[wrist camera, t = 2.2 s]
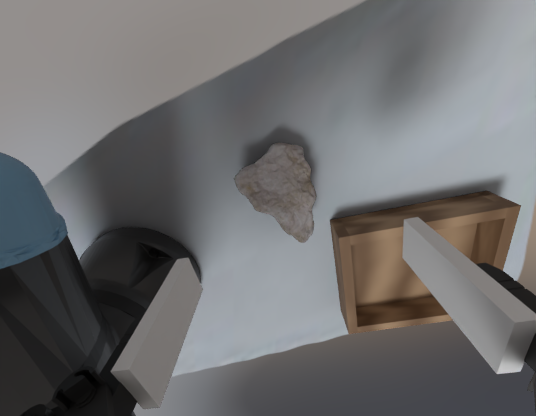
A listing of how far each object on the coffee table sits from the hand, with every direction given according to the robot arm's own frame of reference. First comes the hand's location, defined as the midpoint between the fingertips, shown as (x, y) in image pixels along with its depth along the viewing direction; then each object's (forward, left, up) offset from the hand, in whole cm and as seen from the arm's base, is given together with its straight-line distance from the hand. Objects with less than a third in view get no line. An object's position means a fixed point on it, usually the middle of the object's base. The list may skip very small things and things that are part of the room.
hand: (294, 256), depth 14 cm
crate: (+14, -14, -13) cm, 24 cm away
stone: (0, 0, -14) cm, 14 cm away
